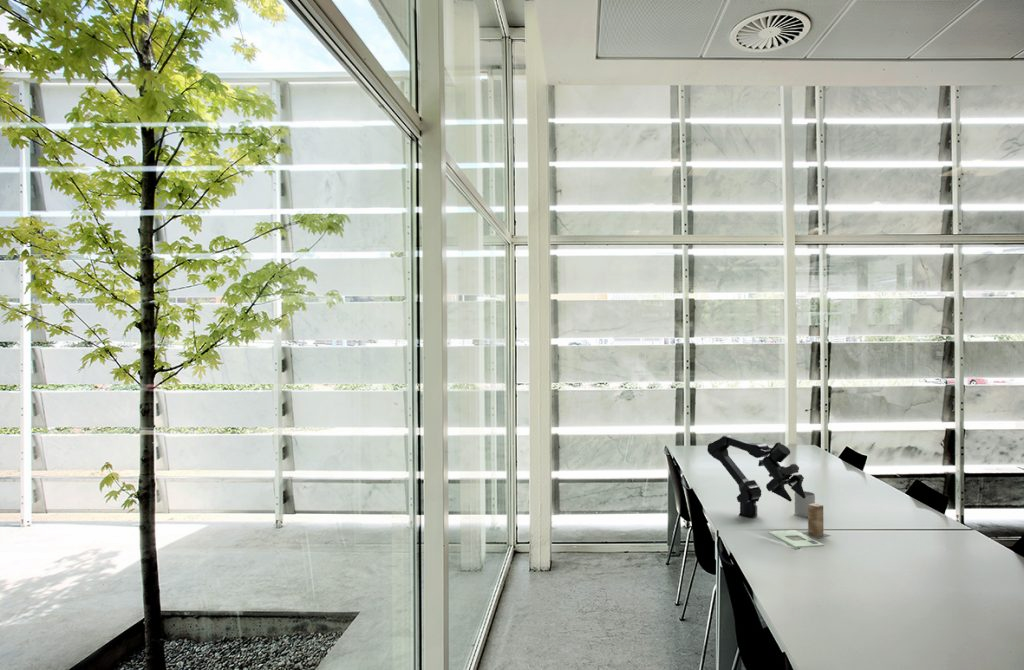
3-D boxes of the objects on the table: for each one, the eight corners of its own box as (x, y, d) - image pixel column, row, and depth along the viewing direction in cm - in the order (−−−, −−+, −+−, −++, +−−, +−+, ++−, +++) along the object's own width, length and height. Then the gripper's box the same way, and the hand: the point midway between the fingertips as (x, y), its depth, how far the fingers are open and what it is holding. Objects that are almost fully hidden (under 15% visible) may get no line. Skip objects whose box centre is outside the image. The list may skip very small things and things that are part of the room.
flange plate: (768, 534, 249) (768, 531, 249) (795, 532, 251) (795, 529, 251) (795, 549, 232) (795, 545, 232) (824, 547, 234) (824, 544, 234)
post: (808, 533, 248) (808, 504, 248) (814, 532, 250) (814, 503, 250) (817, 536, 244) (817, 506, 244) (823, 535, 246) (823, 505, 246)
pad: (800, 534, 248) (800, 533, 248) (812, 531, 252) (812, 530, 252) (818, 540, 241) (818, 538, 241) (831, 537, 245) (831, 535, 245)
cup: (803, 518, 270) (803, 496, 270) (790, 513, 278) (790, 491, 278) (819, 517, 273) (819, 494, 273) (805, 512, 280) (805, 490, 281)
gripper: (771, 459, 254) (796, 491, 244) (799, 455, 264) (824, 485, 254) (756, 475, 261) (779, 506, 251) (783, 470, 270) (807, 500, 260)
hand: (798, 499), depth 254 cm, fingers open, 9 cm apart
